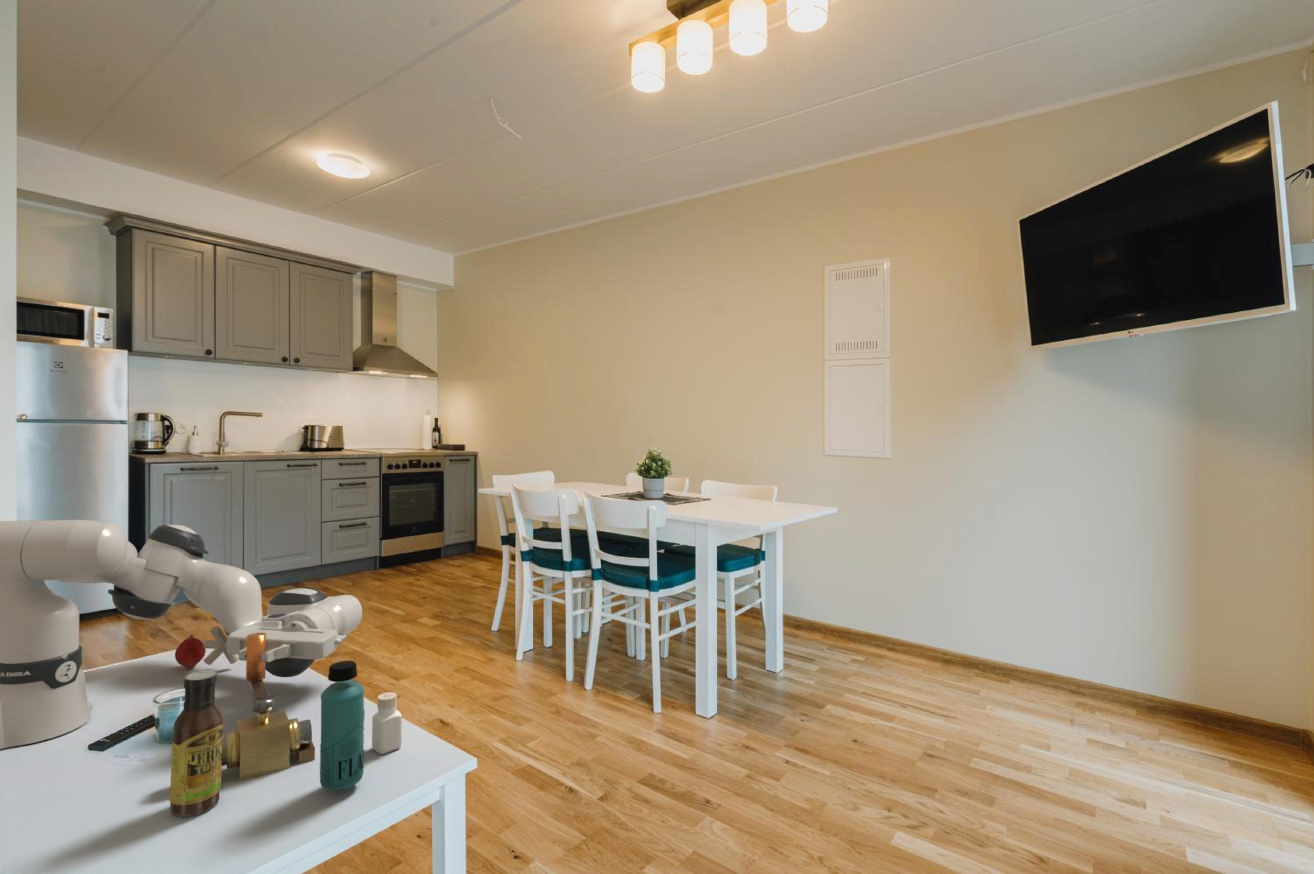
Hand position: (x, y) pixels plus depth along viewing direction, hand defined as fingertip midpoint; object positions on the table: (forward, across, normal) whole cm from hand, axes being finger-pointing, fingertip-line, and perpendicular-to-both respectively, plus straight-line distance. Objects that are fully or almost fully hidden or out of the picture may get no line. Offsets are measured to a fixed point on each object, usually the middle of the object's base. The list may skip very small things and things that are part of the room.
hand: (252, 657), depth 116 cm
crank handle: (+4, -4, -5) cm, 8 cm away
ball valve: (+9, -7, -15) cm, 19 cm away
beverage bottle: (+12, -25, -16) cm, 32 cm away
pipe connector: (-30, +30, -14) cm, 44 cm away
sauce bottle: (+20, -7, -15) cm, 26 cm away
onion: (-28, +40, -15) cm, 51 cm away
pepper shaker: (-1, -25, -16) cm, 30 cm away
